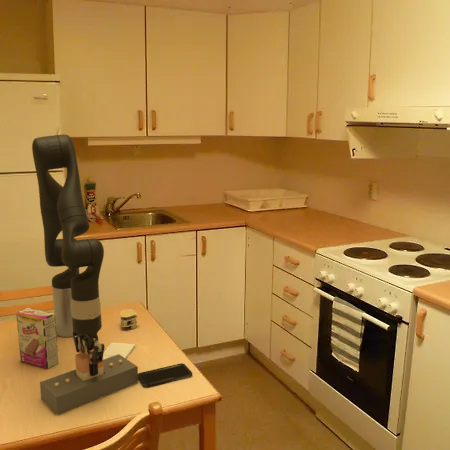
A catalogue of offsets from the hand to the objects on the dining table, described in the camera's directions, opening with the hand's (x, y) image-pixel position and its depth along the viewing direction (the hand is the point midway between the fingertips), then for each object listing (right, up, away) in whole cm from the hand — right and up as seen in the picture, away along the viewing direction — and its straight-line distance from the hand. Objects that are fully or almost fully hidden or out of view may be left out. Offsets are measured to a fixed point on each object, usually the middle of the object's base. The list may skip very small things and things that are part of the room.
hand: (89, 371), depth 141 cm
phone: (+19, -5, +9) cm, 22 cm away
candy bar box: (-20, -2, +17) cm, 26 cm away
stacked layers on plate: (+2, +3, +43) cm, 43 cm away
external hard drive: (+3, -2, +22) cm, 22 cm away
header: (0, -6, +1) cm, 6 cm away
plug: (0, -6, +1) cm, 6 cm away
